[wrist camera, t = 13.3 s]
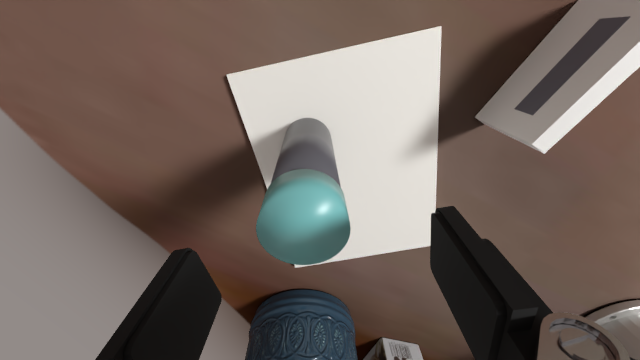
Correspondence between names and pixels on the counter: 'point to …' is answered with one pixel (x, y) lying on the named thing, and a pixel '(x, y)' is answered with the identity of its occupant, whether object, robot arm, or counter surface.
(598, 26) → the word card
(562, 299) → the counter surface
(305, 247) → the marker
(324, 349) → the canister
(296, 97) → the paper
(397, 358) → the coffee box
